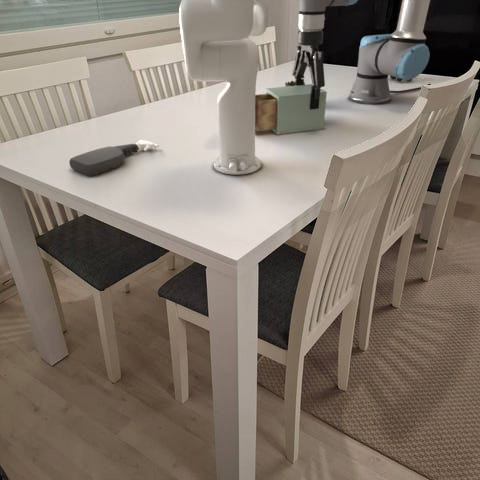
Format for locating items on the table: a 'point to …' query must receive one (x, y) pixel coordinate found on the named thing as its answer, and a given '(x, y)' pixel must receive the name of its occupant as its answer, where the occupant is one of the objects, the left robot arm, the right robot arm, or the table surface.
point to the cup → (291, 84)
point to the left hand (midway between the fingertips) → (237, 114)
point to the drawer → (265, 112)
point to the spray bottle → (106, 157)
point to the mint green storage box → (297, 109)
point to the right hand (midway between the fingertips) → (306, 104)
